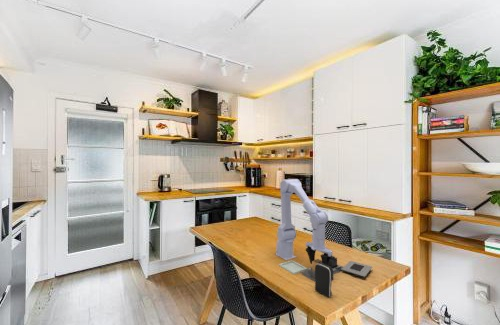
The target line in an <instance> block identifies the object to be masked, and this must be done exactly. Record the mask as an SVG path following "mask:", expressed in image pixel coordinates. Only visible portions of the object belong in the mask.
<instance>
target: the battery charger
mask: <svg viewBox="0 0 500 325" xmlns="http://www.w3.org/2000/svg"><path fill="white" fill-rule="evenodd" d="M332 281H334V274H333V269H332V268H331V267H330V266H328V265H325V264H323V263H319V264H317V265H316V266H315V281H314V282H315V283H314V290H315V291H316V292H317V293H318V294H320V295H323V296H325V297H326V298H330V297H331V296H332V295H333V294H332Z"/></svg>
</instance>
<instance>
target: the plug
mask: <svg viewBox="0 0 500 325" xmlns="http://www.w3.org/2000/svg"><path fill="white" fill-rule="evenodd" d="M319 263H322V259H319V258H317V259H315V260H314V261H312V264H311V267H312V270H314V271H315V266H316V265H317V264H319Z"/></svg>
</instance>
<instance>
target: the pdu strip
mask: <svg viewBox="0 0 500 325" xmlns="http://www.w3.org/2000/svg"><path fill="white" fill-rule="evenodd" d="M328 266H330V267H331V268H332V269H333V275H336V274H338V273H341V272H343V271H342V270H341V269H342V268H343V267H344V266H342V265H340V264H338V258H337V257H335V256H334V255H332V257H331V259H330V261H329V263H328ZM307 268H308V267H307ZM301 275H302V276H304V277H306V278H308V279H310V280H311V281H313V282H315V271H314V270H312V266H311V267H309V268H308V270H306V271H303V272H301Z"/></svg>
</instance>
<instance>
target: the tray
mask: <svg viewBox="0 0 500 325" xmlns="http://www.w3.org/2000/svg"><path fill="white" fill-rule="evenodd" d="M278 266H279V267H280V268H282V269H284V270H286V271H287V272H289V273H290V274H292V275H296V274H300V273H302V272H304V271H307V270H308V267H307V266H304V265H303V264H300V263H298V262H296V261H295V260H292V259H290V260H289V261H285V262H282V263H279V264H278Z"/></svg>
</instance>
